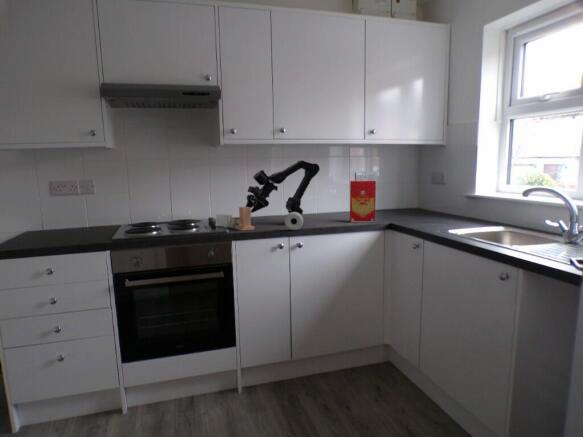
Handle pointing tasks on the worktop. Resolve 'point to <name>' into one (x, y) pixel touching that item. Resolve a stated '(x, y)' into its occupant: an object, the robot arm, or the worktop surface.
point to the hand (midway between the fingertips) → (247, 211)
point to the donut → (291, 216)
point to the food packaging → (362, 200)
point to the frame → (223, 220)
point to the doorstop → (245, 218)
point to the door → (236, 224)
